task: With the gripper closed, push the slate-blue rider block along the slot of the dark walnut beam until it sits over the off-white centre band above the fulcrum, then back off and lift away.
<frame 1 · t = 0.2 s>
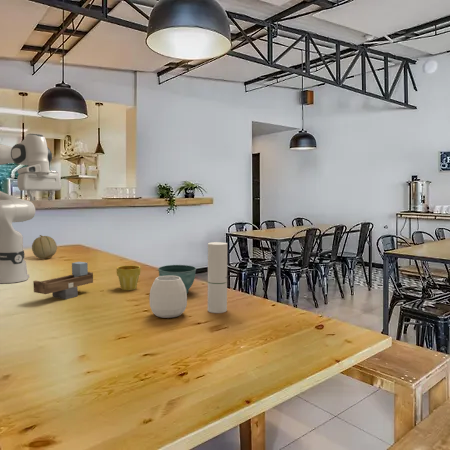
hand: (42, 200, 189), 39 cm above the table, tool pointing down, fingers open, 8 cm apart
rider: (79, 270, 180), point 10 cm above the table, slide at 8.0 cm
flower pot: (177, 293, 182), on the table
cylindrical container: (217, 310, 156), on the table
cantaloupe: (44, 259, 267), on the table
white vase: (168, 315, 150), on the table
plant pot: (128, 289, 189), on the table
beam: (65, 296, 174), on the table
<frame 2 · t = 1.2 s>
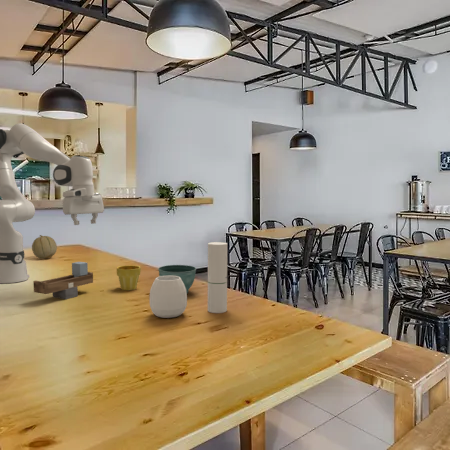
hand: (85, 224, 184), 29 cm above the table, tool pointing down, fingers open, 8 cm apart
nothing on the table moved.
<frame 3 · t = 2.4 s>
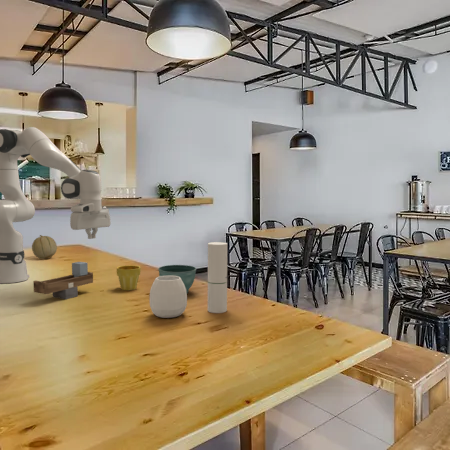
hand: (91, 238, 185), 23 cm above the table, tool pointing down, fingers closed
nothing on the table moved.
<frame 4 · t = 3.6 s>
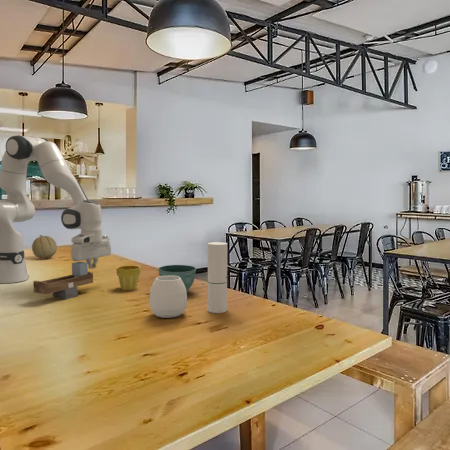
hand: (92, 268, 186), 9 cm above the table, tool pointing down, fingers closed
nothing on the table moved.
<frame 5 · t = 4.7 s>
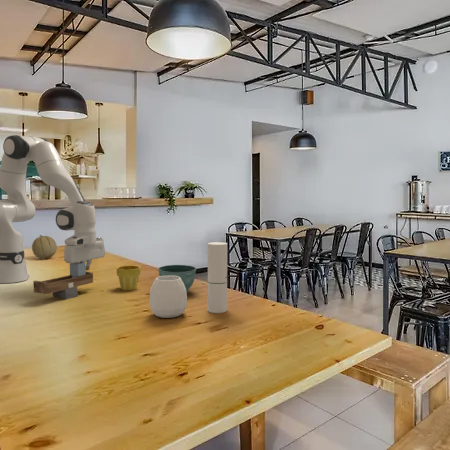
hand: (85, 270, 183), 9 cm above the table, tool pointing down, fingers closed
rider: (77, 270, 179), point 10 cm above the table, slide at 6.9 cm, touching gripper
everything else where it was.
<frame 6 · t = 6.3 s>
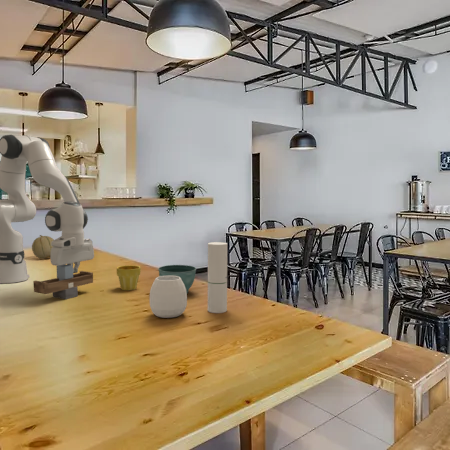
hand: (73, 273, 177), 9 cm above the table, tool pointing down, fingers closed
rider: (64, 273, 173), point 10 cm above the table, slide at 0.2 cm, touching gripper
everything else where it was.
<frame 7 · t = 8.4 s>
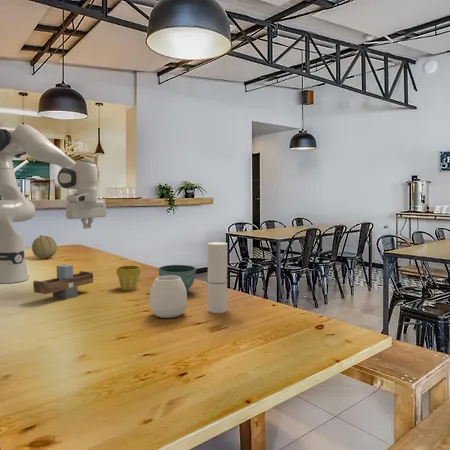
hand: (87, 228, 187), 27 cm above the table, tool pointing down, fingers closed
rider: (64, 273, 173), point 10 cm above the table, slide at 0.2 cm
everything else where it was.
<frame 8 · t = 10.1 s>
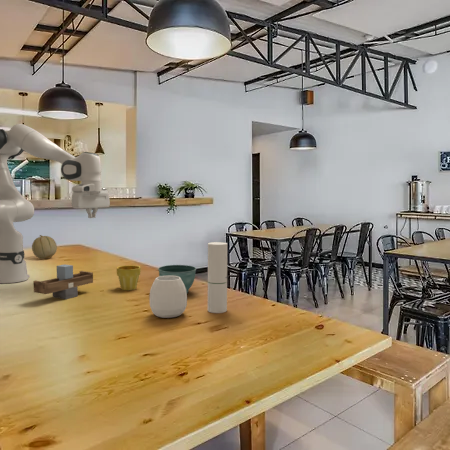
hand: (92, 217, 194), 31 cm above the table, tool pointing down, fingers closed
nothing on the table moved.
at the end: rider slide at 0.2 cm; rider 0.2 cm from the target spot, point 9.6 cm above the table; the gripper is holding nothing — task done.
